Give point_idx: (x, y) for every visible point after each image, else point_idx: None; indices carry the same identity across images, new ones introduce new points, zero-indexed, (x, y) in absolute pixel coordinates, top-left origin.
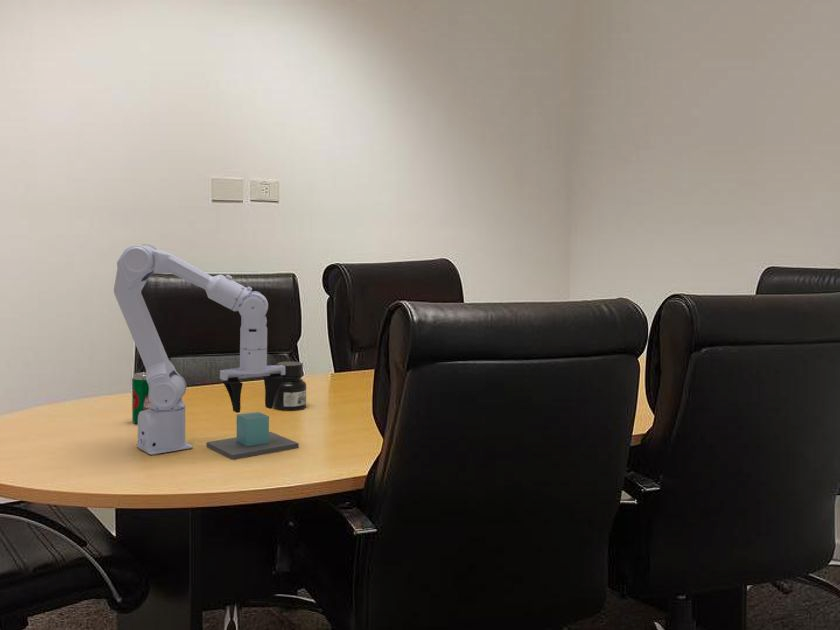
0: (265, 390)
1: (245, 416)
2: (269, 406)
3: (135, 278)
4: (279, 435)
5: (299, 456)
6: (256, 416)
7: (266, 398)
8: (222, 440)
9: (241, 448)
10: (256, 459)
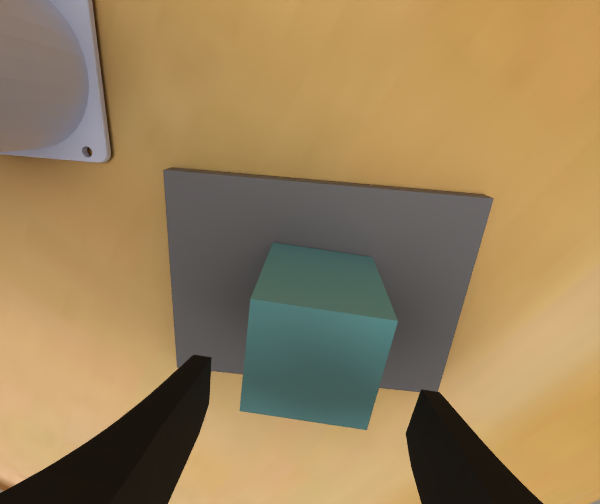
0: (482, 492)
1: (266, 363)
2: (410, 443)
3: None
4: (470, 274)
5: (365, 441)
6: (314, 395)
7: (442, 449)
8: (232, 191)
9: (239, 328)
10: None
